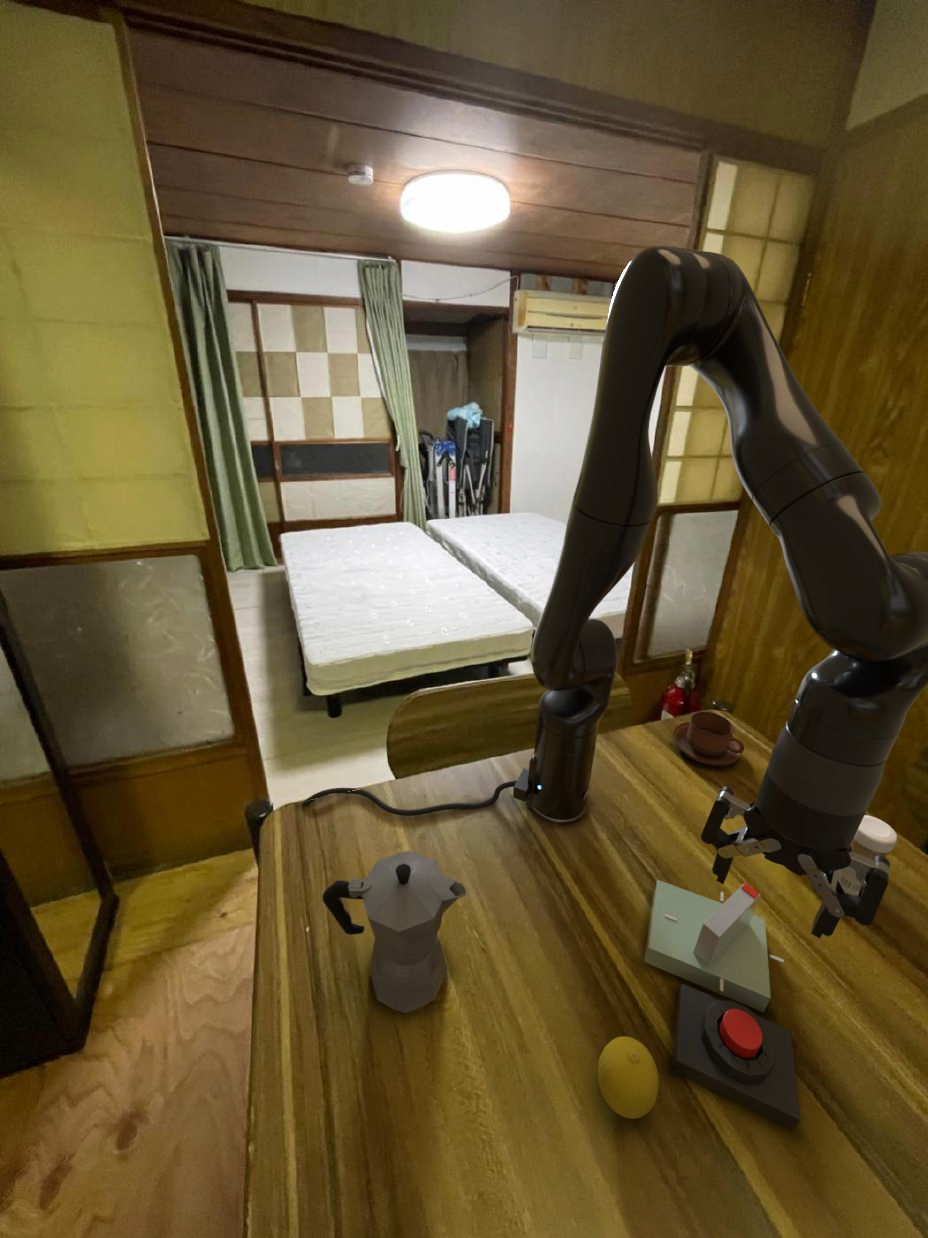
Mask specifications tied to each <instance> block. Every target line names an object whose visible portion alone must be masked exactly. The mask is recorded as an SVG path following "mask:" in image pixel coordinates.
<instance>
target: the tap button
mask: <svg viewBox="0 0 928 1238" xmlns="http://www.w3.org/2000/svg"><path fill="white" fill-rule="evenodd" d="M720 1034H721V1037H722V1040H723V1042H724V1043H725V1045H726V1046H727V1047H728V1048H729V1050H731V1051H732V1052H733V1053H734V1054H736V1055H737V1056H739V1057H742V1058H752V1057H754V1056H755V1055H756V1054H757V1052H758V1050H759V1048H760V1046H761V1045H762V1041H763V1036H762V1032H761V1029H760V1027H759V1025H758V1024H757V1022H756V1021H755V1020H754V1019H753V1018H752V1017H751V1016H750V1015H749V1014H748V1013H746V1012H744V1011H742V1010H739V1009H730V1010H728V1011H727V1012H726V1013H725V1014H724V1017H723V1019H722V1021H721V1024H720Z"/></svg>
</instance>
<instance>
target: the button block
mask: <svg viewBox="0 0 928 1238" xmlns="http://www.w3.org/2000/svg"><path fill="white" fill-rule="evenodd" d="M730 1009H739V1010H742V1011H744V1012H746V1013H748V1014H749V1015H750V1016H751V1017H752V1018H753V1019H754V1020H755V1021H756V1022H757V1024H758V1025H759V1027H760V1029H761V1032H762V1036H763V1041H762V1045H761V1046H760V1048H759V1050H758V1052H757V1054H756V1055H755V1056H754V1057H752V1058H742V1057H739V1056H737V1055H736V1054H734V1053H733V1052H732V1051H731V1050H729V1048H728V1047H727V1046H726V1045H725V1043H724V1042H723V1040H722V1037H721V1034H720V1024H721V1021H722V1019H723V1017H724V1014H725V1013H726V1012H727V1011H728V1010H730ZM674 1028H675V1029H674V1037H673V1039H674V1040H673V1053H672V1063H671V1071H672V1072H674V1073H676V1074H678V1075H680V1076H682V1077H684V1078H686V1079H688V1080H690V1081H692V1082H694V1083H696V1084H698V1085H700V1086H703V1087H704V1088H706V1089H708V1090H711V1091H713V1093H717V1094H718V1095H721V1096H722V1097H725V1098H727V1099H729V1100H730V1101H733V1102H735V1103H737V1104H739V1105H741V1106H742V1107H745V1108H747V1109H750V1110H751V1111H753V1112H755V1113H757V1114H759V1115H761V1116H763V1117H766V1118H767V1119H770V1120H772V1121H774V1122H775V1123H777V1124H780V1125H782V1126H783V1127H786V1128H788V1129H790V1130H792V1131H794V1130H795V1129H796V1128H797V1126H798V1125H799V1123H800V1121H801V1112H800V1101H799V1092H798V1081H797V1073H796V1063H795V1053H794V1043H793V1033H792V1030H791V1029H789V1028H787V1027H784V1026H782V1025H781V1024H778V1023H775V1022H773V1021H770V1020H768V1019H766V1018H763V1017H761V1016H759V1015H756V1013H754V1012H753V1011H752V1010H751V1009H750V1007H748V1006H746V1005H744V1004H741V1003H739V1002H737V1001H734V1000H732V999H725V1000H722V999H719V998H717V997H714V996H713V995H710V994H707V993H706V992H703V991H700V990H698V989H696V988H694V987H691V986H689V985H686V984H684V983H681V984H680V987H679V989H678V993H677V998H676V1013H675V1026H674Z"/></svg>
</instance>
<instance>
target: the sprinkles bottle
mask: <svg viewBox="0 0 928 1238" xmlns="http://www.w3.org/2000/svg"><path fill="white" fill-rule="evenodd" d="M897 841H898V835H897V832H896V831H895V829H894V828H892V826H891V825H889V824H888V823H886V822H885V821H883V820H881V819H880V818H877V817H875V816H872V815H867V814H865V815H864V817H863V820H862V822H861V824H860V826H859V828H858V830H857V832H856V834H855V836H854V838H853V840H852V842H851V844H850V846H851V849H852V851H853V852H855V853H858V854H860V855H862V856H865V857H867V858H870V859H872V858H873V857H874V856H882V857H884V858H886V859H887V856H888V854H889V853H891V852H892V851H893V849H894V848H895V846H896V844H897ZM838 873H839V878H840V880H841V882H842V884H843V886H844V888H845V890H846V892H847V894H850V895H854V896H858V894H859V891H860V889H861V886H862V885H861V884H860V881H859V880H858V879H857V878H856V872H855V870H854V869H853V868H852V867H850V866H848V867H846V868H844V869H840V870H838Z"/></svg>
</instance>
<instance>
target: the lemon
mask: <svg viewBox="0 0 928 1238" xmlns="http://www.w3.org/2000/svg"><path fill="white" fill-rule="evenodd" d="M598 1060H599V1061H598V1063H597V1064H598V1065H597V1080H598V1081H597V1082H598V1087H599V1089H600V1092H601V1094H602V1096H603V1099H604V1100H605V1101H606V1103H607V1105H608V1107H610V1108H611V1109H612V1110H613V1111H614V1112H615V1113H616V1114H618V1115H619V1116H620V1117H623V1118H626V1119H635V1120H636V1119H639V1118H643V1117H644V1116H645V1115H647V1114H648V1113H650V1112H651V1110H652V1108H653V1107H654V1105H655V1104H656V1101H657V1099H658V1098H657V1097H658V1094H659V1085H660V1084H659V1082H660V1081H659V1079H660V1078H659V1073H658V1068H657V1065H656V1062H655V1060H654V1058H653V1055H652V1054H651V1052H650V1050H649V1049H648V1048H647V1047H646V1046H645V1045H644V1044H643V1043H642V1042H640V1041H639V1040H638V1039H635V1038H633V1037H630V1036H625V1035H624V1036H617V1037H615V1038H613V1039H611V1040H610V1041H609V1042H608V1043H607V1044H606V1045H605V1046H604V1048H603V1050H602V1051H601V1053H600V1055H599V1059H598Z"/></svg>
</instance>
